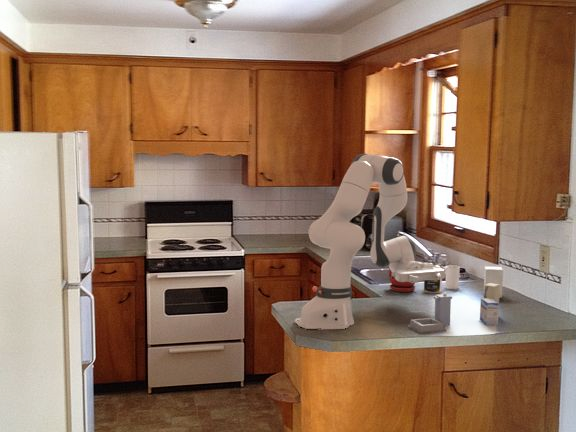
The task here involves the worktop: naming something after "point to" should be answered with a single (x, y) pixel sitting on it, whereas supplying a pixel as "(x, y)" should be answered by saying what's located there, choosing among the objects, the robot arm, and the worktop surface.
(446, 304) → the block
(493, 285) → the box
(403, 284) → the plant pot
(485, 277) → the supplement box
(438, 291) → the medicine bottle
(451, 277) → the drinking glass
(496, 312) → the medicine box
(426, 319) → the pocket plate
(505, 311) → the worktop surface
